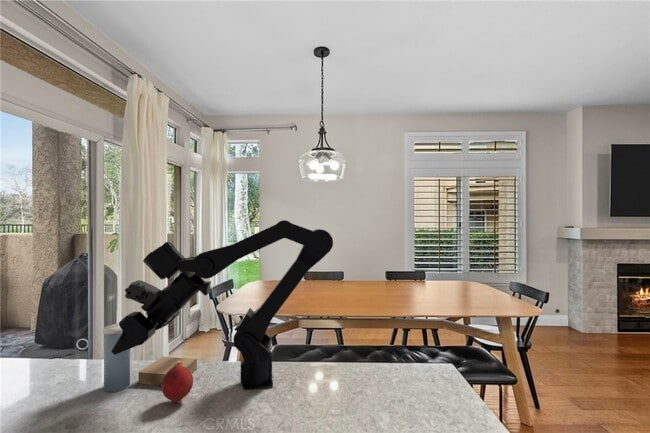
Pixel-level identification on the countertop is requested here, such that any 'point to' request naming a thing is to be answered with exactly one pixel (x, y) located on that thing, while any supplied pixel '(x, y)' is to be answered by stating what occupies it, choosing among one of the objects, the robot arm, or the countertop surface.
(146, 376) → the block
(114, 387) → the tumbler
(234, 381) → the countertop surface
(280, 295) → the robot arm
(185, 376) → the onion
